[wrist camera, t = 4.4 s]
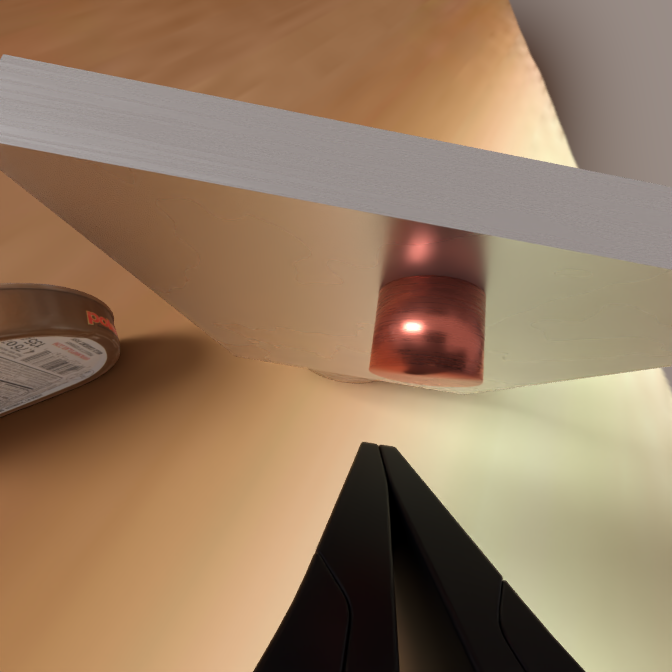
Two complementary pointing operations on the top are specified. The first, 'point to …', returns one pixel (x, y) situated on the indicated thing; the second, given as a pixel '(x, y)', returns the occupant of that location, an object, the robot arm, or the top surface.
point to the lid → (349, 234)
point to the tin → (51, 342)
